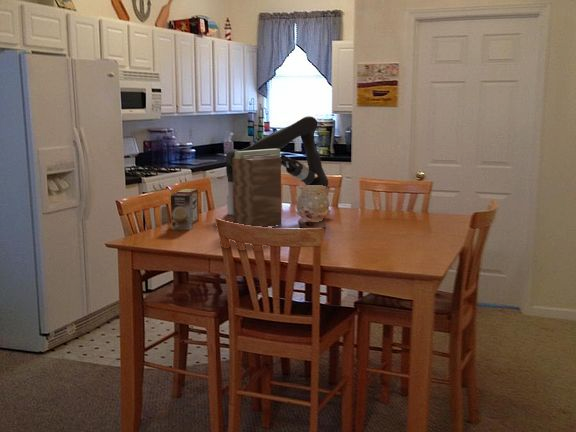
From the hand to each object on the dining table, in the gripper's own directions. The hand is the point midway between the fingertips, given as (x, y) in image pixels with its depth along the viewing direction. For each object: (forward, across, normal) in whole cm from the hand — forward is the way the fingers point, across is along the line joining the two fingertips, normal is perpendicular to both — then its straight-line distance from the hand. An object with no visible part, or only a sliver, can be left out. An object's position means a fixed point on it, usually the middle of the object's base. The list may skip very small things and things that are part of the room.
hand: (275, 155), depth 309 cm
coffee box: (+22, -14, +50) cm, 57 cm away
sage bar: (+9, 0, +5) cm, 11 cm away
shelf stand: (-3, +4, +35) cm, 35 cm away
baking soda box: (+14, -25, +45) cm, 54 cm away
